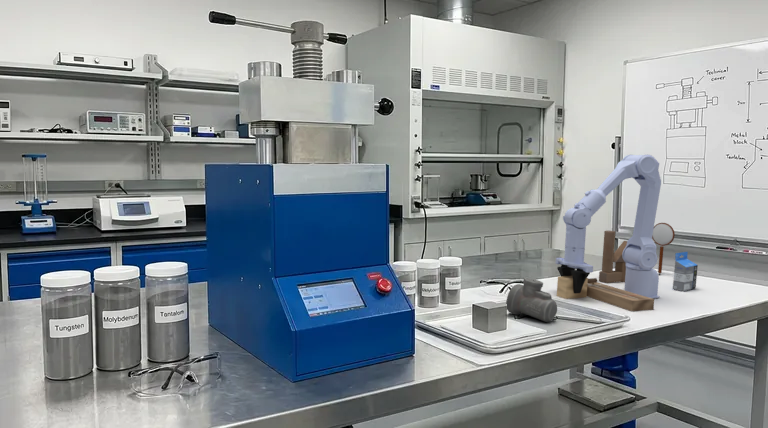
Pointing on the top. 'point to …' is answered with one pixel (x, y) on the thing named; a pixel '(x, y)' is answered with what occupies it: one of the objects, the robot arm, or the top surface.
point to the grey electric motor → (531, 300)
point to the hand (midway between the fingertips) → (571, 291)
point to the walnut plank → (619, 297)
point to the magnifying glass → (662, 239)
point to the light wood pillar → (571, 287)
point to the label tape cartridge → (684, 273)
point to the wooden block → (612, 260)
